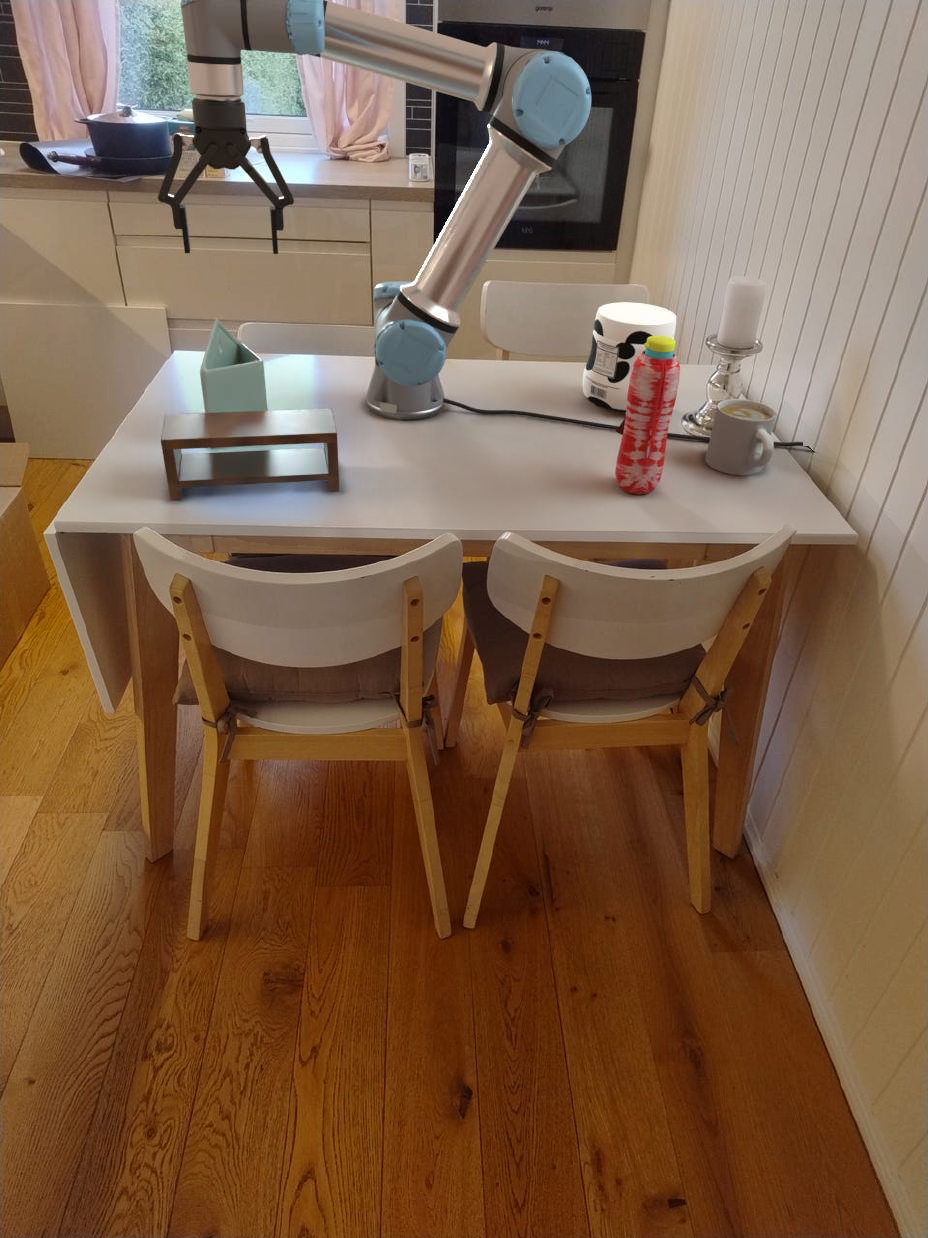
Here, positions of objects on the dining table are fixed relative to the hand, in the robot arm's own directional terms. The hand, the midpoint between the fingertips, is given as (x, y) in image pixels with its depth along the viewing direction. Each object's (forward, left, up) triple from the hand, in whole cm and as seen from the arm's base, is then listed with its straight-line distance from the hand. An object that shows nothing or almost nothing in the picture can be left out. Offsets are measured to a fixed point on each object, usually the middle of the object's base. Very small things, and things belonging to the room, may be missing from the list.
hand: (232, 251), depth 139 cm
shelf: (-1, +20, -31) cm, 37 cm away
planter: (0, 0, -31) cm, 31 cm away
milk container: (-74, -7, -31) cm, 80 cm away
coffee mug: (-84, +24, -31) cm, 92 cm away
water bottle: (-63, +28, -31) cm, 75 cm away
